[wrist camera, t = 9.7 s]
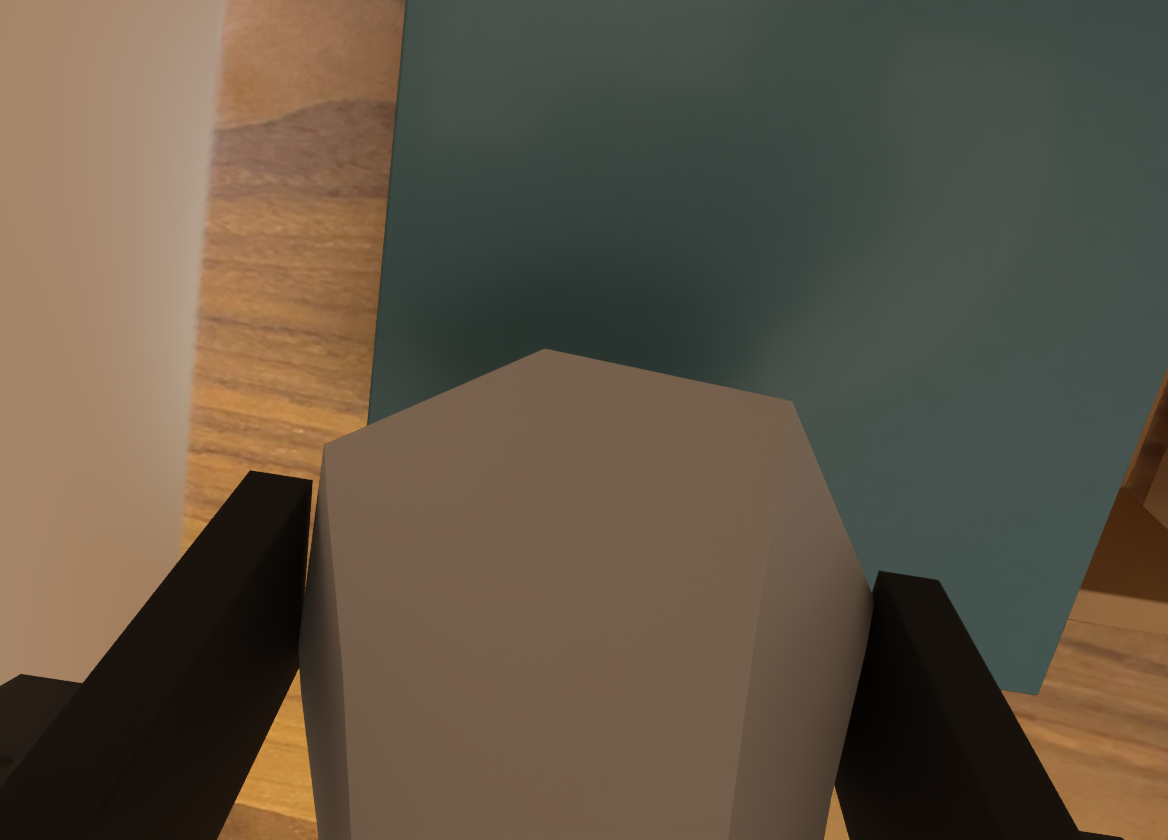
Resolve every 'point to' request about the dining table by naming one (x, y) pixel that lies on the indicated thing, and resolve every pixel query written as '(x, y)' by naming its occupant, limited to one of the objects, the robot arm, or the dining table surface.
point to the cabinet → (816, 248)
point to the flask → (579, 615)
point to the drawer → (1131, 557)
